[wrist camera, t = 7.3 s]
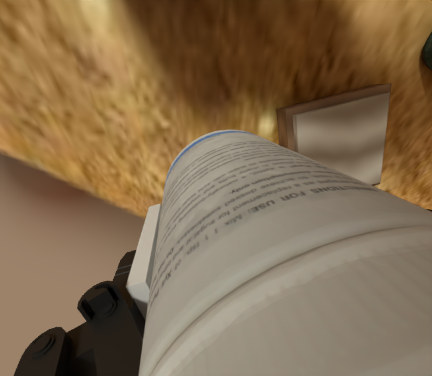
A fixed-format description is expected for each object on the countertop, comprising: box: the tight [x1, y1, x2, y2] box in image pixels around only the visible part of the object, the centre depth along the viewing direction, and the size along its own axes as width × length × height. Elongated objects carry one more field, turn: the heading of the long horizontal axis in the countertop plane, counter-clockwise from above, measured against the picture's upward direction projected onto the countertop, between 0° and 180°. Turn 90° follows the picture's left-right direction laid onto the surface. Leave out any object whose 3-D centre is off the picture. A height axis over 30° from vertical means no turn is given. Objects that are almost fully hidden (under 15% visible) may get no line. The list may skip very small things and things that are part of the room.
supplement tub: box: [139, 130, 432, 376], centre depth 10 cm, size 10×10×15 cm
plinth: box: [276, 84, 391, 186], centre depth 34 cm, size 16×16×4 cm
